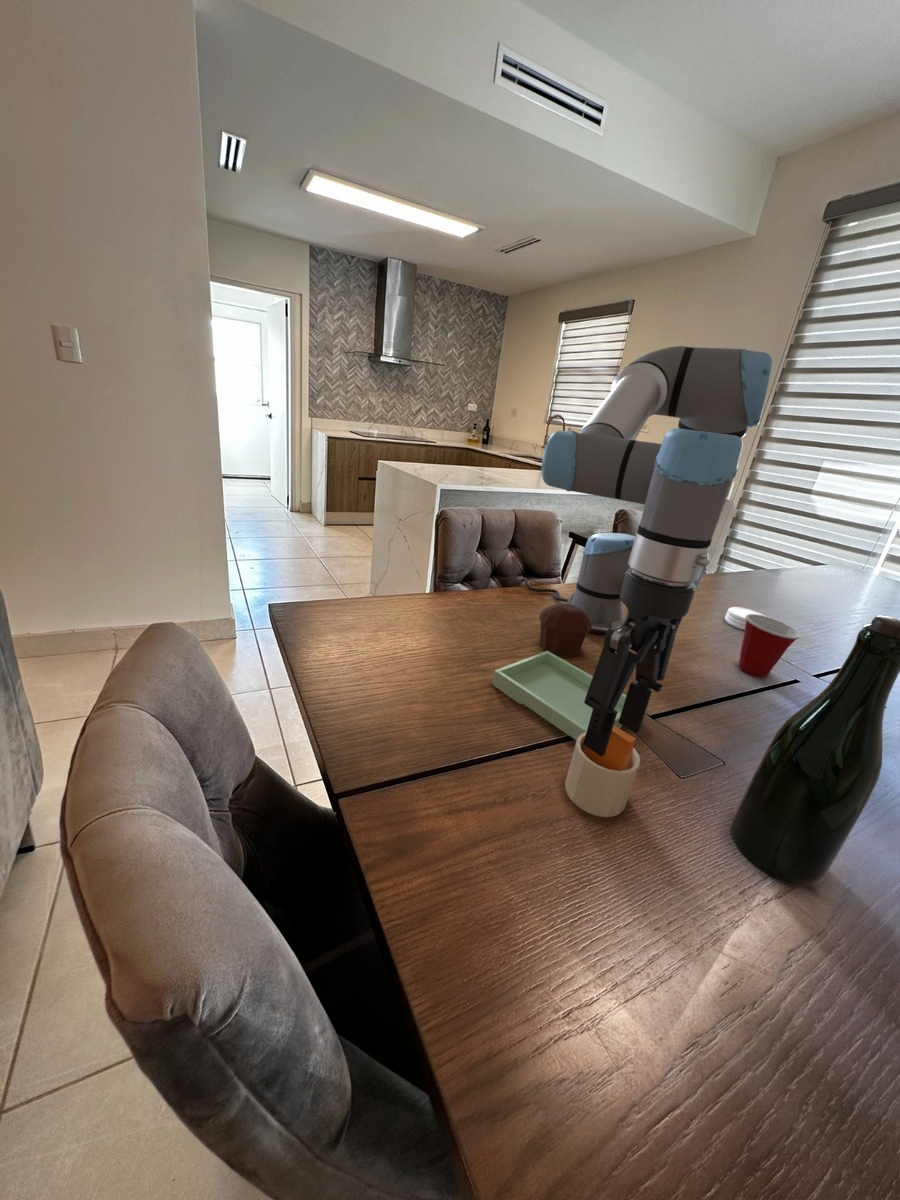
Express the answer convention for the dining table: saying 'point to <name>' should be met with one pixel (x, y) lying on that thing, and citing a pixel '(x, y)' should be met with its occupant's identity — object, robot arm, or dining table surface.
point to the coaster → (738, 616)
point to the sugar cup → (599, 783)
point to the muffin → (563, 629)
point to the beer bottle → (821, 766)
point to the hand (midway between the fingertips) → (611, 737)
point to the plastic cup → (764, 644)
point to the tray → (551, 691)
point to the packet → (614, 751)
